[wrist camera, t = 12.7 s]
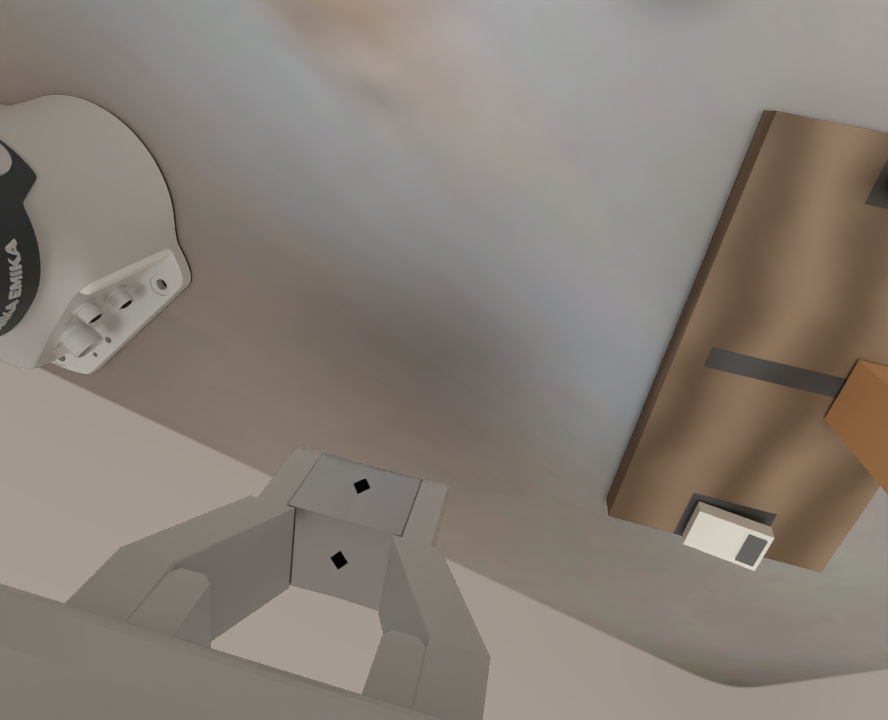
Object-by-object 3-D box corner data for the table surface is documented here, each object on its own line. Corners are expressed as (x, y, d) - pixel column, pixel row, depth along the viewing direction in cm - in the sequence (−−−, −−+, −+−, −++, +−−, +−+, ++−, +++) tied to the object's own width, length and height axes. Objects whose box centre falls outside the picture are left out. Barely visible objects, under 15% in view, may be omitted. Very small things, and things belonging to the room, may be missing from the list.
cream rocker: (682, 533, 42) (683, 545, 41) (698, 501, 40) (700, 512, 39) (752, 559, 41) (754, 572, 39) (771, 527, 39) (774, 539, 38)
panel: (606, 499, 44) (608, 516, 43) (764, 110, 32) (776, 110, 30) (810, 552, 43) (821, 572, 41) (1062, 169, 30) (1094, 174, 28)
